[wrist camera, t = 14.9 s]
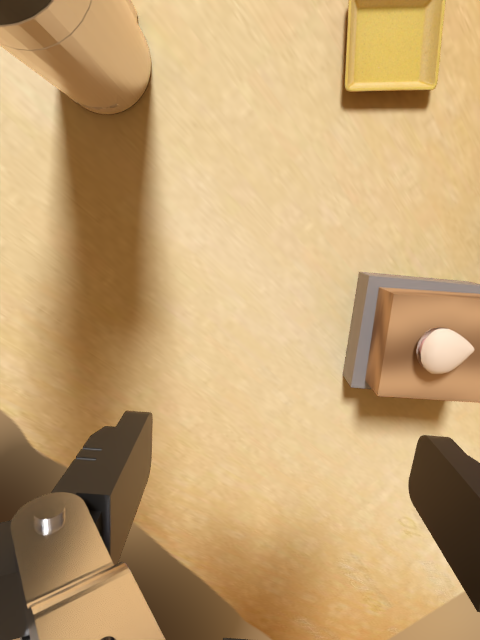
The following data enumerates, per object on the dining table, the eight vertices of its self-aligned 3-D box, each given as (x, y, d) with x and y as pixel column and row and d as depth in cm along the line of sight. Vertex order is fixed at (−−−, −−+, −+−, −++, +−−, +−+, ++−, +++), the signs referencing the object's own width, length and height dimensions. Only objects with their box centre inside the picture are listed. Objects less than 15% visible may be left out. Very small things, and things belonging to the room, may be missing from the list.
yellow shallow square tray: (339, 98, 38) (344, 91, 36) (343, -4, 36) (349, -18, 34) (426, 97, 38) (437, 90, 36) (436, -5, 36) (448, -19, 34)
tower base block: (357, 271, 42) (369, 275, 38) (466, 281, 42) (488, 286, 38) (341, 373, 45) (350, 387, 41) (443, 382, 45) (462, 396, 41)
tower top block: (378, 287, 38) (393, 293, 35) (478, 293, 38) (504, 300, 35) (365, 380, 41) (377, 396, 37) (458, 386, 41) (480, 402, 37)
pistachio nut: (414, 325, 35) (426, 332, 33) (468, 323, 35) (485, 330, 33) (410, 369, 36) (423, 379, 34) (464, 367, 36) (480, 377, 34)
